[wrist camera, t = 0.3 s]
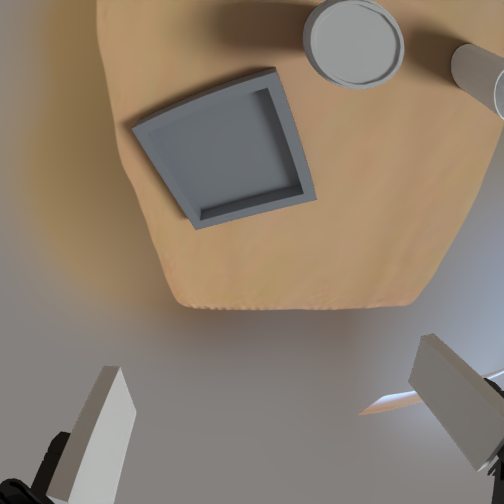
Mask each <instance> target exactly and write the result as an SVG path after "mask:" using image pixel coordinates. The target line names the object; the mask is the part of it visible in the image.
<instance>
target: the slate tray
mask: <svg viewBox="0 0 504 504" xmlns="http://www.w3.org/2000/svg"><path fill="white" fill-rule="evenodd" d="M132 131H133V133H134V134H135V136H136V137H137V139H138V141H139V142H140V144H141V146H142V147H143V149H144V150H145V152H146V154H147V155H148V157H149V158H150V160H151V161H152V163H153V165H154V166H155V168H156V169H157V171H158V173H159V174H160V176H161V177H162V179H163V180H164V182H165V183H166V185H167V187H168V188H169V190H170V191H171V193H172V194H173V196H174V197H175V199H176V201H177V202H178V204H179V205H180V207H181V208H182V210H183V211H184V213H185V214H186V216H187V217H188V219H189V220H190V222H191V223H192V225H193V226H194V228H195V229H196V230H198V229H202V228H206V227H209V226H213V225H217V224H221V223H224V222H228V221H232V220H236V219H240V218H244V217H248V216H252V215H256V214H260V213H264V212H268V211H272V210H276V209H280V208H284V207H288V206H292V205H296V204H301V203H305V202H309V201H313V200H317V198H316V193H315V189H314V185H313V181H312V178H311V174H310V171H309V167H308V164H307V160H306V157H305V154H304V150H303V147H302V144H301V141H300V137H299V134H298V131H297V128H296V125H295V122H294V119H293V116H292V113H291V110H290V107H289V104H288V101H287V98H286V95H285V92H284V89H283V86H282V84H281V81H280V78H279V75H278V72H277V70H276V67H274V68H270V69H267V70H263V71H260V72H257V73H253V74H250V75H247V76H244V77H241V78H238V79H235V80H232V81H229V82H227V83H224V84H221V85H218V86H216V87H213V88H210V89H208V90H205V91H202V92H200V93H197V94H195V95H193V96H190V97H188V98H185V99H183V100H181V101H178V102H176V103H174V104H171V105H169V106H167V107H165V108H163V109H160V110H158V111H156V112H154V113H152V114H150V115H148V116H146V117H144V118H142V119H140V120H138V121H137V123H136V124H135V125H134V126H133V127H132Z"/></svg>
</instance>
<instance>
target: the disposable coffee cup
mask: <svg viewBox="0 0 504 504" xmlns="http://www.w3.org/2000/svg"><path fill="white" fill-rule="evenodd" d="M303 47H304V51H305V54H306V56H307V58H308V60H309V62H310V64H311V65H312V67H313V68H314V69H315V70H316V71H317V72H318V74H320V75H321V76H322V77H323V78H324V79H326V80H327V81H329V82H331V83H333V84H335V85H338V86H340V87H343V88H348V89H367V88H371V87H375V86H378V85H381V84H383V83H384V82H386V81H388V80H389V79H390V78H391V77H392V76H393V75H394V74H395V73H396V72H397V70H398V69H399V67H400V65H401V64H402V60H403V56H404V39H403V36H402V33H401V31H400V28H399V26H398V24H397V22H396V21H395V19H394V18H393V17H392V15H391V14H390V13H389V12H388V11H387V10H386V9H385V8H383V7H382V6H380V5H379V4H377V3H376V2H373V1H371V0H326V1H324V2H323V3H321V4H320V5H318V6H317V7H316V8H315V9H314V10H313V11H312V12H311V14H310V15H309V17H308V19H307V20H306V23H305V25H304V30H303Z"/></svg>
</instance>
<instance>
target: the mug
mask: <svg viewBox="0 0 504 504" xmlns="http://www.w3.org/2000/svg"><path fill="white" fill-rule="evenodd" d="M451 73H452V76H453V79H454V80H455V82H456V84H457V85H458V86H459V87H460V88H461V89H462V90H464V91H465V92H467V93H468V94H470V95H471V96H472V97H474V98H475V99H477V100H478V101H480V102H481V103H482V104H484V105H485V106H486V107H488V108H489V109H490V110H492V111H493V112H494V113H495V114H497V115H498V116H499V117H500V118H502V119H503V120H504V58H502V57H500V56H498V55H496V54H494V53H492V52H490V51H487V50H485V49H483V48H481V47H478V46H476V45H473V44H465V45H462V46H460V47H459V48H458V49H456V51H455V52H454V54H453V56H452V59H451Z"/></svg>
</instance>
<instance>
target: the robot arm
mask: <svg viewBox="0 0 504 504" xmlns="http://www.w3.org/2000/svg"><path fill="white" fill-rule="evenodd" d="M408 382H409V383H410V385H411V386H412V387H413V388H414V390H415V391H416V392H417V393H418V395H419V396H420V397H421V398H422V400H423V401H424V402H425V404H426V405H427V406H428V407H429V409H430V410H431V411H432V413H433V414H434V415H435V416H436V418H437V419H438V420H439V421H440V423H441V424H442V426H443V427H444V428H445V430H446V431H447V432H448V433H449V435H450V436H451V438H452V439H453V440H454V442H455V443H456V444H457V446H458V447H459V448H460V450H461V451H462V452H463V454H464V455H465V456H466V458H467V459H468V460H469V462H470V463H471V465H472V466H473V468H474V469H475V470H476V472H478V471H480V470H481V469H483V468H484V467H486V466H487V465H488V464H490V463H491V461H492V460H493V459H494V457H495V456H496V455H497V456H498V457H499V459H498V460H497V462H496V463H495V464H494V465H493V466H492V468H491V469H490V470H489V471H488V475H490V474H491V473H492V472H493V470H494V469H495V468H496V470H495V472H494V473H493V476H495V481H494V490H493V497H492V504H504V391H502V389H501V388H500V387H499V386H498V385H497V384H496V383H495V382H493V381H490V380H489V379H487V378H484V379H483V378H482V377H481V376H480V375H479V374H478V373H477V372H476V371H474V370H473V369H472V368H471V367H470V366H469V365H468V364H467V363H466V362H465V361H464V360H462V359H461V358H460V357H459V356H458V355H457V354H456V353H455V352H454V351H453V350H452V349H451V348H449V347H448V346H447V345H446V344H445V343H444V342H443V341H442V340H440V339H439V338H438V337H437V336H436V335H435V334H434V333H432V334H429V335H424V336H421V339H420V343H419V347H418V351H417V354H416V358H415V361H414V365H413V368H412V372H411V375H410V378H409V381H408ZM135 417H136V410H135V407H134V405H133V402H132V399H131V397H130V394H129V391H128V388H127V385H126V383H125V380H124V377H123V374H122V371H121V368H120V367H118V366H104V367H103V368H102V370H101V372H100V374H99V376H98V378H97V380H96V382H95V384H94V386H93V388H92V390H91V392H90V394H89V396H88V398H87V400H86V402H85V405H84V407H83V409H82V411H81V413H80V415H79V417H78V420H77V421H76V424H75V426H74V428H73V430H72V432H71V433H67V432H60V433H59V434H58V435H57V436H56V437H55V438H54V439H53V440H52V441H51V444H50V446H49V448H48V452H47V453H46V454H45V456H44V461H42V463H41V465H40V468H39V470H38V472H37V474H36V477H35V479H34V482H33V484H32V486H31V488H29V487H28V486H27V485H26V484H24V483H23V482H22V481H21V480H18V479H14V478H13V479H7V480H5V481H3V482H2V483H1V484H0V504H114V500H115V495H116V491H117V486H118V482H119V478H120V474H121V470H122V466H123V461H124V457H125V454H126V449H127V446H128V442H129V438H130V435H131V431H132V427H133V424H134V420H135Z"/></svg>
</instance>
